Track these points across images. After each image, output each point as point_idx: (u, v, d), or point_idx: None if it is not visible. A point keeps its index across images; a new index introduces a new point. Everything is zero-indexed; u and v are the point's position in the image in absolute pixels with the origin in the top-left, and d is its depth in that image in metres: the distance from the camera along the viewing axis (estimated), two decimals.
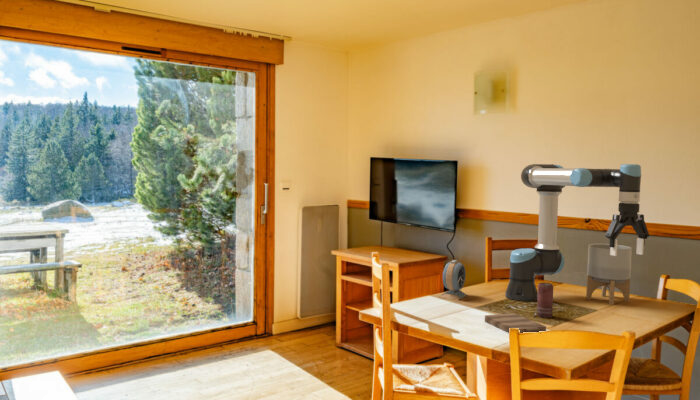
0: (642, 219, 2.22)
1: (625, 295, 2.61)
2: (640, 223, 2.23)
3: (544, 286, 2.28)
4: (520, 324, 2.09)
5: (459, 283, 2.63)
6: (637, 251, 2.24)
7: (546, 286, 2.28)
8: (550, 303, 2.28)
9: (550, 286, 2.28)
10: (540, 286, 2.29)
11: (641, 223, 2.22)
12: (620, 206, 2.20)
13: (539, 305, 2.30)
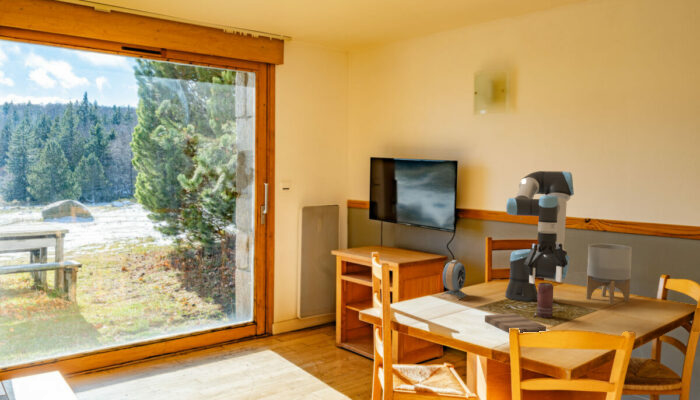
0: (561, 248, 2.30)
1: (625, 295, 2.61)
2: (559, 252, 2.32)
3: (544, 286, 2.28)
4: (520, 324, 2.09)
5: (459, 283, 2.63)
6: (556, 279, 2.33)
7: (546, 286, 2.28)
8: (550, 303, 2.28)
9: (550, 286, 2.28)
10: (540, 286, 2.29)
11: (560, 252, 2.31)
12: (538, 236, 2.29)
13: (539, 305, 2.30)
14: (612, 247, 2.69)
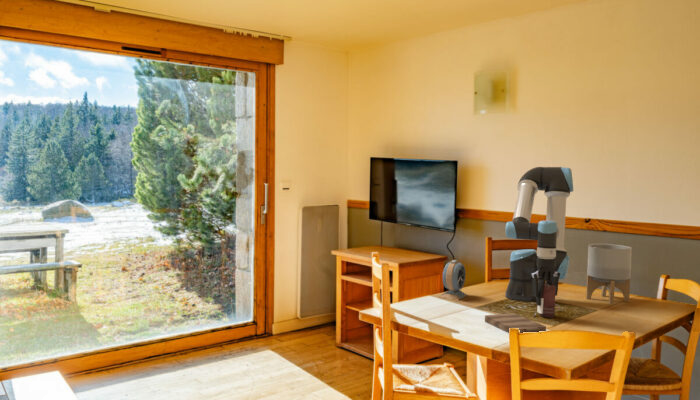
0: (558, 277, 2.31)
1: (625, 295, 2.61)
2: (554, 280, 2.32)
3: (546, 286, 2.28)
4: (520, 324, 2.09)
5: (459, 283, 2.63)
6: None
7: (548, 286, 2.28)
8: (553, 302, 2.28)
9: (552, 286, 2.28)
10: None
11: (555, 280, 2.31)
12: (537, 261, 2.29)
13: None
14: (612, 247, 2.69)
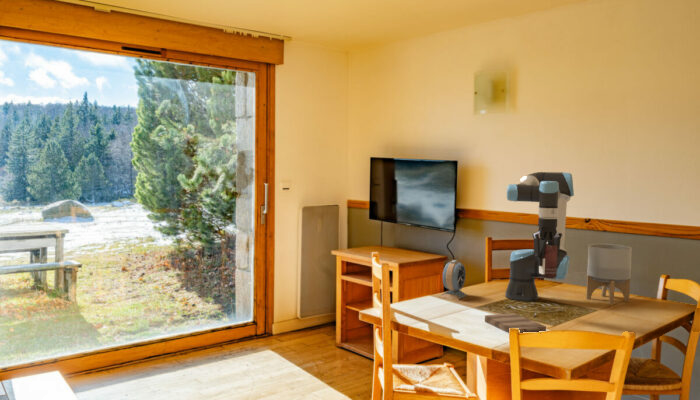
0: (559, 237, 2.30)
1: (625, 295, 2.61)
2: (556, 241, 2.31)
3: (548, 246, 2.27)
4: (520, 324, 2.09)
5: (459, 283, 2.63)
6: None
7: (550, 246, 2.27)
8: (555, 263, 2.28)
9: (554, 246, 2.27)
10: None
11: (556, 241, 2.30)
12: (539, 221, 2.28)
13: None
14: (612, 247, 2.69)
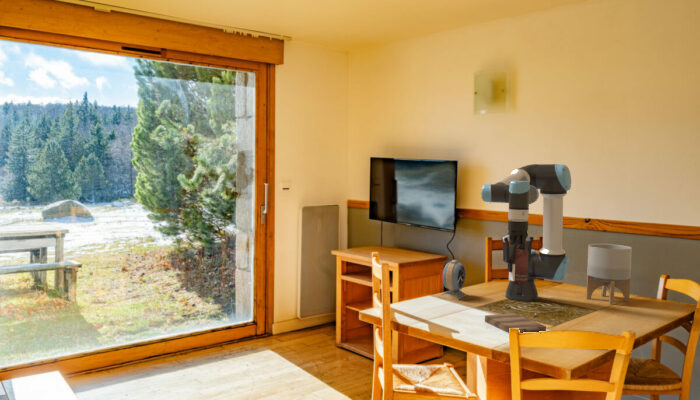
0: (531, 241, 2.13)
1: (625, 295, 2.61)
2: (527, 245, 2.14)
3: (518, 251, 2.11)
4: (520, 324, 2.09)
5: (459, 283, 2.63)
6: None
7: (520, 251, 2.11)
8: (525, 269, 2.11)
9: (525, 251, 2.11)
10: None
11: (528, 245, 2.14)
12: (509, 224, 2.12)
13: None
14: (612, 247, 2.69)
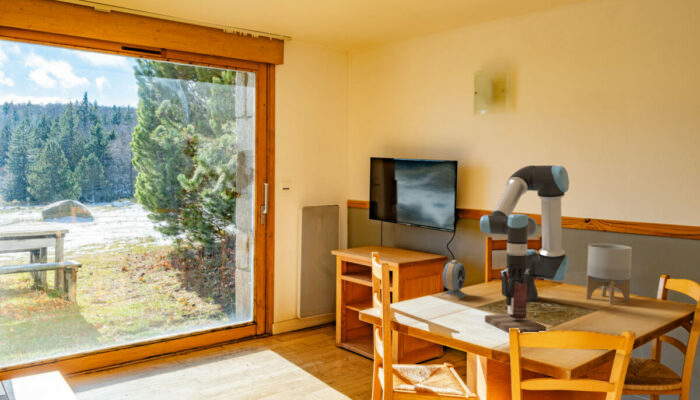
0: (529, 274, 2.14)
1: (625, 295, 2.61)
2: (525, 278, 2.15)
3: (517, 284, 2.12)
4: (520, 324, 2.09)
5: (459, 283, 2.63)
6: None
7: (519, 284, 2.11)
8: (524, 302, 2.12)
9: (523, 284, 2.11)
10: None
11: (526, 278, 2.15)
12: (507, 258, 2.13)
13: None
14: (612, 247, 2.69)
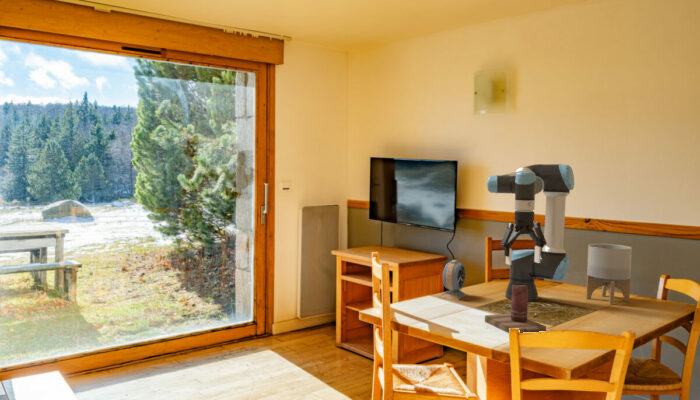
0: (539, 227, 2.19)
1: (625, 295, 2.61)
2: (537, 231, 2.20)
3: (518, 288, 2.12)
4: (520, 324, 2.09)
5: (459, 283, 2.63)
6: (535, 259, 2.21)
7: (520, 288, 2.12)
8: (525, 306, 2.12)
9: (524, 288, 2.12)
10: (514, 288, 2.13)
11: (538, 231, 2.19)
12: (515, 214, 2.17)
13: (513, 308, 2.14)
14: (612, 247, 2.69)
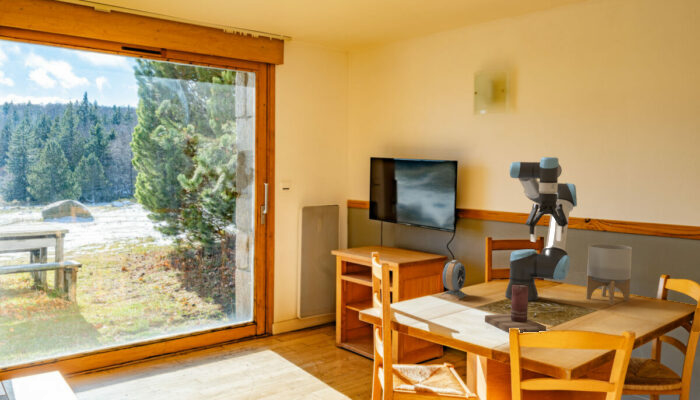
0: (561, 208, 2.39)
1: (625, 295, 2.61)
2: (559, 212, 2.40)
3: (518, 288, 2.12)
4: (520, 324, 2.09)
5: (459, 283, 2.63)
6: (557, 238, 2.42)
7: (520, 288, 2.12)
8: (525, 306, 2.12)
9: (524, 288, 2.12)
10: (514, 288, 2.13)
11: (560, 212, 2.40)
12: (539, 196, 2.37)
13: (513, 308, 2.14)
14: (612, 247, 2.69)
